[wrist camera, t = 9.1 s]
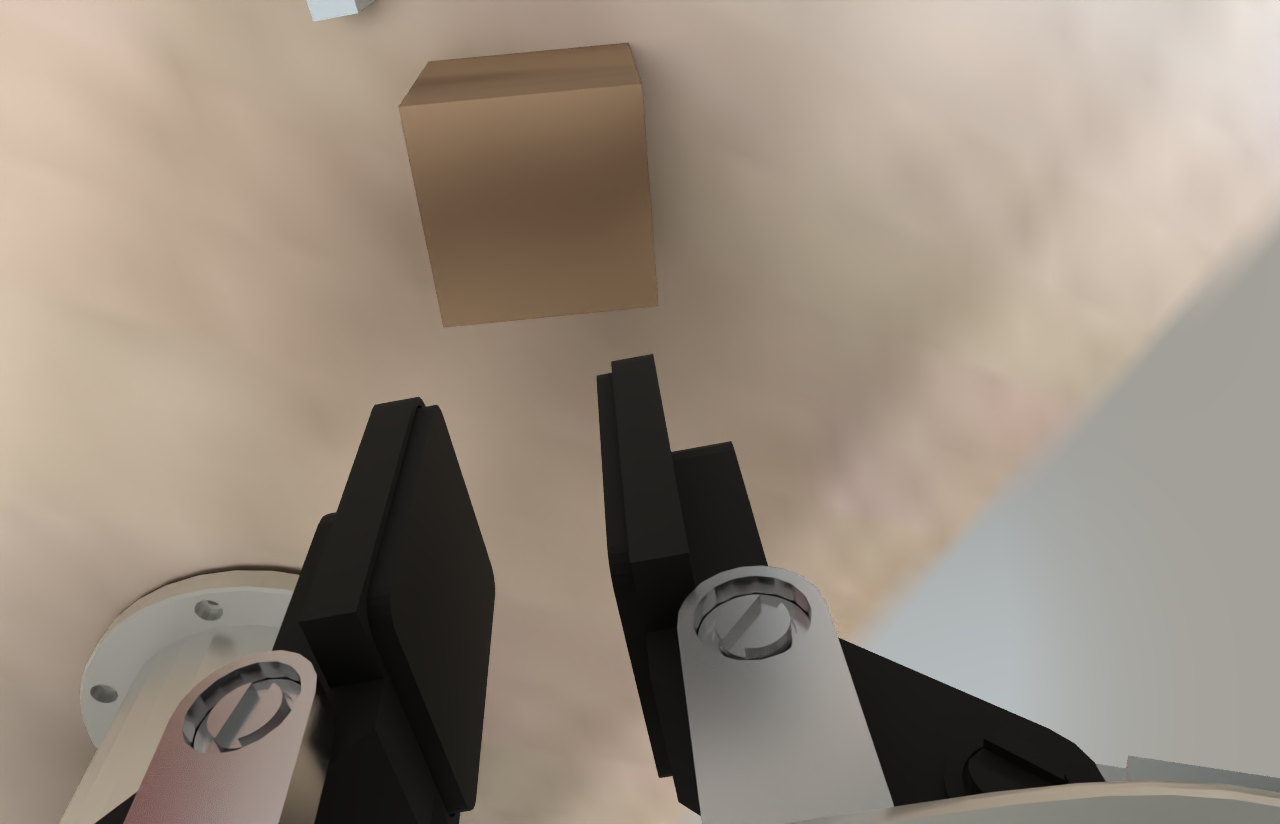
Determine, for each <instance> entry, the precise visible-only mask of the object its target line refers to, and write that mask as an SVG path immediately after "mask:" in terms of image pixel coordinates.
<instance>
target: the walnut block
mask: <svg viewBox="0 0 1280 824" xmlns="http://www.w3.org/2000/svg"><path fill="white" fill-rule="evenodd" d="M399 112H400V116H401V121H402V126H403V131H404V136H405V141H406V146H407V151H408V156H409V161H410V165H411V170H412V175H413V180H414V185H415V190H416V195H417V200H418V205H419V210H420V214H421V219H422V224H423V229H424V234H425V239H426V244H427V249H428V254H429V259H430V263H431V268H432V273H433V278H434V283H435V288H436V293H437V298H438V303H439V308H440V312H441V317H442V322H443V327H453V326H463V325H473V324H483V323H493V322H503V321H513V320H523V319H533V318H543V317H553V316H563V315H573V314H583V313H593V312H603V311H613V310H623V309H633V308H643V307H653V306H658V295H657V282H656V268H655V255H654V242H653V228H652V215H651V202H650V188H649V175H648V161H647V148H646V135H645V121H644V108H643V95H642V83H641V80H640V77H639V74H638V71H637V68H636V65H635V62H634V59H633V56H632V53H631V50H630V46H629V43H621V44H611V45H600V46H589V47H579V48H568V49H558V50H547V51H537V52H526V53H515V54H505V55H494V56H484V57H473V58H463V59H452V60H441V61H431V62H428V64H427V65H426V67H425V68H424V70H423V71H422V73H421V74H420V76H419V77H418V78H417V80H416V81H415V83H414V84H413V86H412V87H411V89H410V90H409V92H408V93H407V95H406V96H405V98H404V99H403V101H402V102H401V104H400V105H399Z"/></svg>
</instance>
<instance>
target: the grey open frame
mask: <svg viewBox="0 0 1280 824" xmlns="http://www.w3.org/2000/svg"><path fill="white" fill-rule="evenodd" d="M373 1H375V0H307V3H308V6H309V10H310V13H311V16H312V19H313V22H314V21H320V20H325V19H330V18H336V17H341V16H346V15H351V14H357V13H359V12H360V11H362V10H363V9H364V8H366V7H367V6H368V5H369V4H371V3H372V2H373Z"/></svg>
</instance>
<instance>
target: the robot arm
mask: <svg viewBox="0 0 1280 824" xmlns="http://www.w3.org/2000/svg"><path fill="white" fill-rule="evenodd" d="M611 366H612V373H608V374H603V375H597V392H598V408H599V424H600V440H601V456H602V472H603V487H604V503H605V519H606V535H607V550H608V559H609V566H610V573H611V578H612V584H613V589H614V593H615V598H616V602H617V606H618V610H619V614H620V618H621V622H622V627H623V631H624V635H625V639H626V643H627V647H628V652H629V656H630V660H631V664H632V668H633V672H634V676H635V681H636V685H637V689H638V693H639V697H640V701H641V706H642V710H643V714H644V718H645V722H646V726H647V731H648V735H649V739H650V743H651V747H652V751H653V755H654V760H655V764H656V768H657V772H658V776H659V778H663V777H669V776H673V779H674V784H675V788H676V793H677V797H678V801H679V803H681V804H683V805H684V806H686V807H687V808H689V809H690V810H692V811H694V812H695V813H697V814H698V815H700V816H701V820H702V824H1280V778H1275V777H1268V776H1261V775H1254V774H1248V773H1241V772H1235V771H1228V770H1220V769H1214V768H1207V767H1200V766H1194V765H1188V764H1180V763H1174V762H1167V761H1161V760H1154V759H1147V758H1140V757H1134V756H1128V760H1127V767H1126V768H1119V767H1113V766H1107V765H1100V764H1095V762H1093V761H1092V760H1091V759H1090V758H1089V757H1088V756H1087V755H1086V754H1085V753H1084V752H1083V751H1082V750H1081V749H1080V748H1079V747H1078V746H1077V745H1076V744H1074V743H1073V742H1071V741H1069V740H1068V739H1066V738H1064V737H1062V736H1061V735H1059V734H1057V733H1055V732H1054V731H1052V730H1050V729H1048V728H1046V727H1044V726H1041V725H1039V724H1037V723H1034V722H1032V721H1030V720H1027V719H1025V718H1023V717H1021V716H1018V715H1016V714H1013V713H1011V712H1009V711H1007V710H1004V709H1002V708H1000V707H997V706H995V705H993V704H990V703H988V702H986V701H984V700H981V699H979V698H977V697H974V696H972V695H970V694H967V693H965V692H963V691H960V690H958V689H956V688H953V687H951V686H949V685H947V684H944V683H942V682H939V681H937V680H935V679H933V678H930V677H928V676H926V675H923V674H921V673H919V672H916V671H914V670H912V669H910V668H907V667H905V666H903V665H900V664H898V663H896V662H893V661H891V660H889V659H887V658H884V657H882V656H879V655H877V654H875V653H873V652H870V651H868V650H866V649H863V648H861V647H859V646H856V645H854V644H852V643H850V642H847V641H845V640H843V639H840V638H838V636H837V633H836V630H835V627H834V624H833V621H832V618H831V615H830V612H829V609H828V606H827V603H826V601H825V600H824V598H823V596H822V595H821V593H820V591H819V590H818V588H817V587H815V586H814V585H813V584H812V583H810V582H809V581H808V580H807V579H805V578H804V577H803V576H800V575H798V574H795V573H793V572H791V571H788V570H786V569H782V568H775V567H768V564H767V561H766V558H765V554H764V551H763V547H762V544H761V540H760V537H759V533H758V530H757V526H756V523H755V519H754V516H753V513H752V509H751V506H750V502H749V499H748V495H747V492H746V488H745V485H744V481H743V478H742V474H741V471H740V468H739V464H738V461H737V457H736V454H735V450H734V447H733V444H732V442H731V441H730V442H724V443H719V444H713V445H708V446H702V447H697V448H691V449H686V450H680V451H675V452H671V450H670V444H669V439H668V433H667V428H666V422H665V417H664V411H663V406H662V400H661V395H660V389H659V384H658V378H657V373H656V367H655V362H654V356H653V354H650V355H645V356H639V357H634V358H628V359H623V360H617V361H612V362H611ZM494 601H495V582H494V575H493V570H492V566H491V563H490V560H489V557H488V553H487V550H486V547H485V544H484V541H483V538H482V535H481V532H480V529H479V526H478V522H477V519H476V516H475V513H474V510H473V507H472V504H471V501H470V498H469V494H468V491H467V488H466V485H465V482H464V479H463V476H462V473H461V470H460V467H459V463H458V460H457V457H456V454H455V451H454V448H453V445H452V442H451V439H450V436H449V432H448V429H447V426H446V423H445V420H444V417H443V414H442V412H441V410H440V408H439V406H438V405H433V406H428V407H426V406H425V404H424V402H423V401H422V399H421V398H420V397H415V398H410V399H404V400H399V401H393V402H388V403H382V404H377V405H375V406H374V407H373V409H372V412H371V415H370V418H369V420H368V423H367V426H366V429H365V432H364V435H363V438H362V440H361V443H360V446H359V449H358V452H357V455H356V458H355V461H354V463H353V466H352V469H351V472H350V475H349V478H348V481H347V484H346V486H345V489H344V492H343V495H342V498H341V501H340V504H339V507H338V509H337V512H336V513H330V514H327V515H325V516H323V517H322V519H321V521H320V523H319V524H318V527H317V530H316V532H315V535H314V538H313V540H312V543H311V546H310V548H309V551H308V554H307V557H306V559H305V562H304V565H303V567H302V570H301V573H300V575H297V574H290V573H284V572H277V571H246V570H234V571H227V572H219V573H212V574H204V575H198V576H195V577H192V578H188V579H185V580H182V581H178V582H175V583H172V584H168V585H166V586H164V587H162V588H160V589H158V590H156V591H154V592H152V593H150V594H148V595H146V596H144V597H142V598H140V599H138V600H137V601H136V602H135V603H133V604H132V605H131V606H130V607H129V608H127V609H126V610H125V611H124V612H122V613H121V614H120V615H119V616H118V617H116V618H115V620H114V621H113V622H112V624H111V625H110V626H109V628H108V629H107V631H106V632H105V633H104V635H103V636H102V637H101V639H100V640H99V642H98V644H97V646H96V648H95V650H94V651H93V653H92V655H91V657H90V659H89V661H88V663H87V665H86V666H85V668H84V672H83V676H82V680H81V685H80V703H81V712H82V719H83V721H84V724H85V726H86V729H87V731H88V734H89V737H90V739H91V741H92V743H93V744H94V746H95V747H96V749H97V751H96V753H95V755H94V757H93V759H92V761H91V763H90V765H89V767H88V768H87V770H86V772H85V774H84V776H83V778H82V780H81V782H80V784H79V786H78V788H77V789H76V791H75V793H74V795H73V797H72V799H71V801H70V803H69V805H68V807H67V809H66V810H65V812H64V814H63V816H62V818H61V820H60V822H59V824H459V818H460V812H465V811H470V810H472V809H473V808H474V806H475V802H476V794H477V783H478V772H479V762H480V751H481V740H482V730H483V719H484V708H485V698H486V687H487V676H488V665H489V655H490V644H491V633H492V623H493V612H494Z"/></svg>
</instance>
